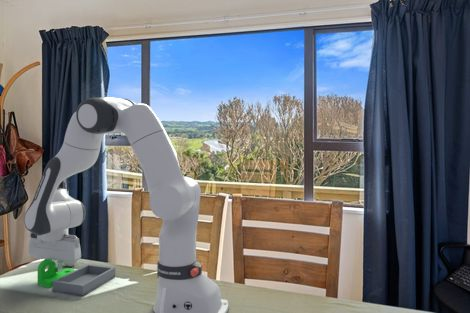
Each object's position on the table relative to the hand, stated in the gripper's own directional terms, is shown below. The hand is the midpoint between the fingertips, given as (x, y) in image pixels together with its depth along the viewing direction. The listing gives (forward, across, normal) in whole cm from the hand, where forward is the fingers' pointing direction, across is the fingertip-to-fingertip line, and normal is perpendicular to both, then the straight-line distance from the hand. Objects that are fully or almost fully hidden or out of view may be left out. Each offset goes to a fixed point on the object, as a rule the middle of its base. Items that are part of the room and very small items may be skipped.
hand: (54, 271), depth 124 cm
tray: (+3, -13, 0) cm, 14 cm away
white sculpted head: (+3, +5, -13) cm, 14 cm away
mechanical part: (+3, -2, 0) cm, 4 cm away
